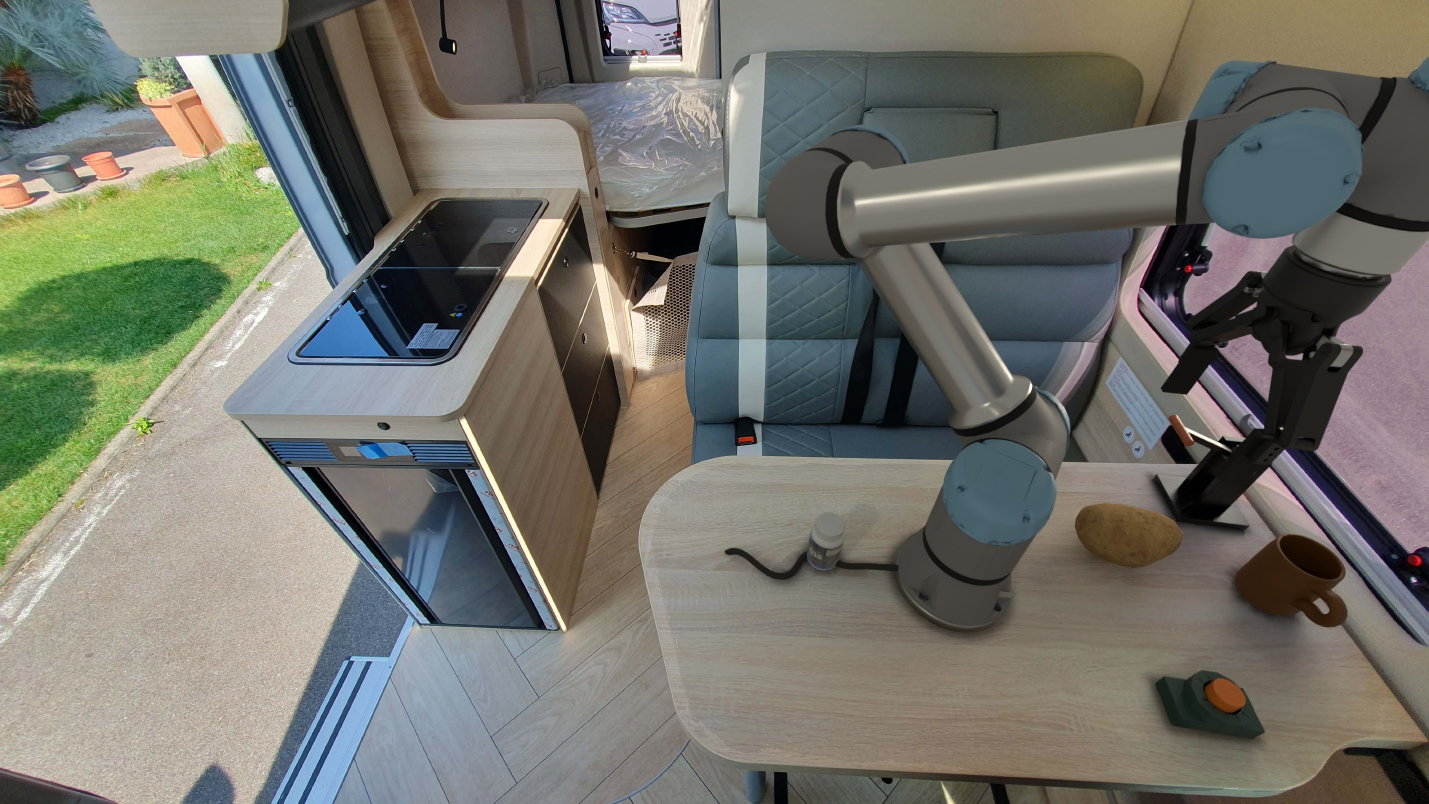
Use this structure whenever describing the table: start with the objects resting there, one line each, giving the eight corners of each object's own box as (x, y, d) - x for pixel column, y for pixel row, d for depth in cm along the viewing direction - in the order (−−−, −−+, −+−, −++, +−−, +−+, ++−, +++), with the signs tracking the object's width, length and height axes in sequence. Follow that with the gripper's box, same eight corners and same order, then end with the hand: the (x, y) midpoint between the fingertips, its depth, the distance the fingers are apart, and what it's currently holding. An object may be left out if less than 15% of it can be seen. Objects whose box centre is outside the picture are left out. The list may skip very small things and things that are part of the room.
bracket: (1176, 521, 91) (1225, 467, 82) (1152, 478, 97) (1196, 424, 89) (1245, 530, 90) (1302, 476, 81) (1216, 486, 96) (1267, 431, 88)
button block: (1173, 730, 68) (1192, 718, 65) (1152, 678, 73) (1169, 664, 70) (1256, 744, 67) (1279, 732, 64) (1229, 690, 72) (1250, 676, 69)
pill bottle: (799, 549, 86) (806, 515, 80) (827, 539, 87) (835, 505, 82) (816, 576, 83) (824, 542, 77) (844, 564, 84) (854, 530, 78)
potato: (1177, 583, 82) (1210, 552, 77) (1076, 575, 83) (1101, 543, 78) (1146, 527, 90) (1174, 495, 84) (1053, 519, 91) (1075, 487, 85)
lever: (1178, 447, 83) (1194, 437, 81) (1162, 421, 87) (1177, 410, 85) (1248, 479, 85) (1265, 470, 83) (1229, 452, 89) (1245, 443, 87)
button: (1212, 710, 66) (1221, 704, 65) (1199, 682, 69) (1207, 676, 68) (1242, 715, 66) (1251, 709, 65) (1228, 686, 68) (1237, 680, 67)
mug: (1330, 654, 75) (1388, 619, 69) (1267, 646, 76) (1318, 610, 70) (1277, 573, 84) (1324, 535, 78) (1221, 566, 85) (1263, 528, 78)
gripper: (1512, 348, 41) (1302, 526, 55) (1302, 203, 59) (1185, 365, 73) (1394, 337, 42) (1218, 516, 56) (1223, 198, 60) (1123, 359, 74)
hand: (1199, 431), depth 65 cm, fingers open, 13 cm apart
